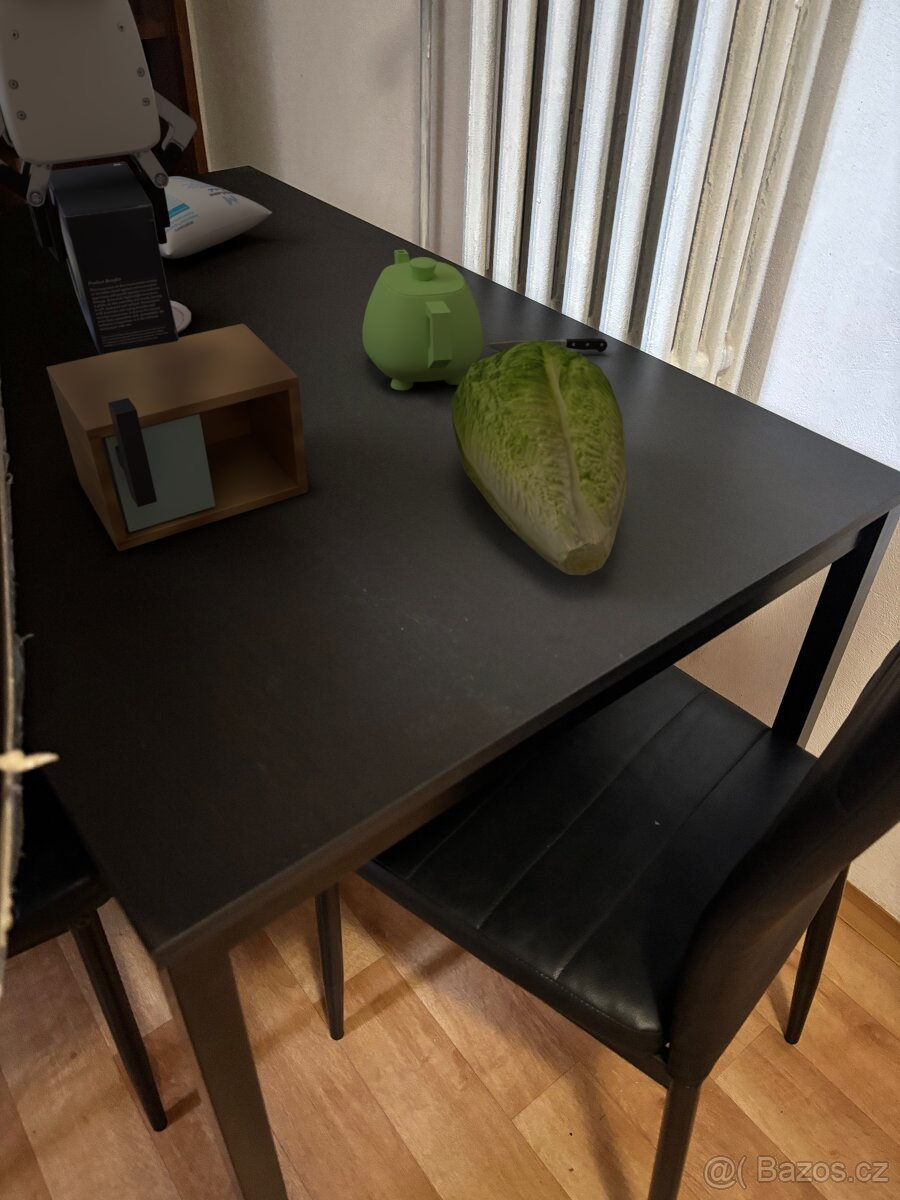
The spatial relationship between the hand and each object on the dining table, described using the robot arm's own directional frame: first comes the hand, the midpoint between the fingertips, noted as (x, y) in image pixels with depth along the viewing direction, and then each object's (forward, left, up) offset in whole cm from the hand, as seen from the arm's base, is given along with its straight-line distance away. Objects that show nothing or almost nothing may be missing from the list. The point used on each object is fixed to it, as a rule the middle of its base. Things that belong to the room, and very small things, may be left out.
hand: (108, 244), depth 69 cm
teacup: (+10, +37, -24) cm, 45 cm away
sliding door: (-1, -7, -22) cm, 23 cm away
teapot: (+34, +10, -24) cm, 43 cm away
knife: (+49, +6, -24) cm, 54 cm away
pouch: (+23, +60, -24) cm, 69 cm away
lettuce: (+29, -20, -24) cm, 42 cm away
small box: (0, 0, -6) cm, 6 cm away
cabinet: (+3, 0, -23) cm, 24 cm away
